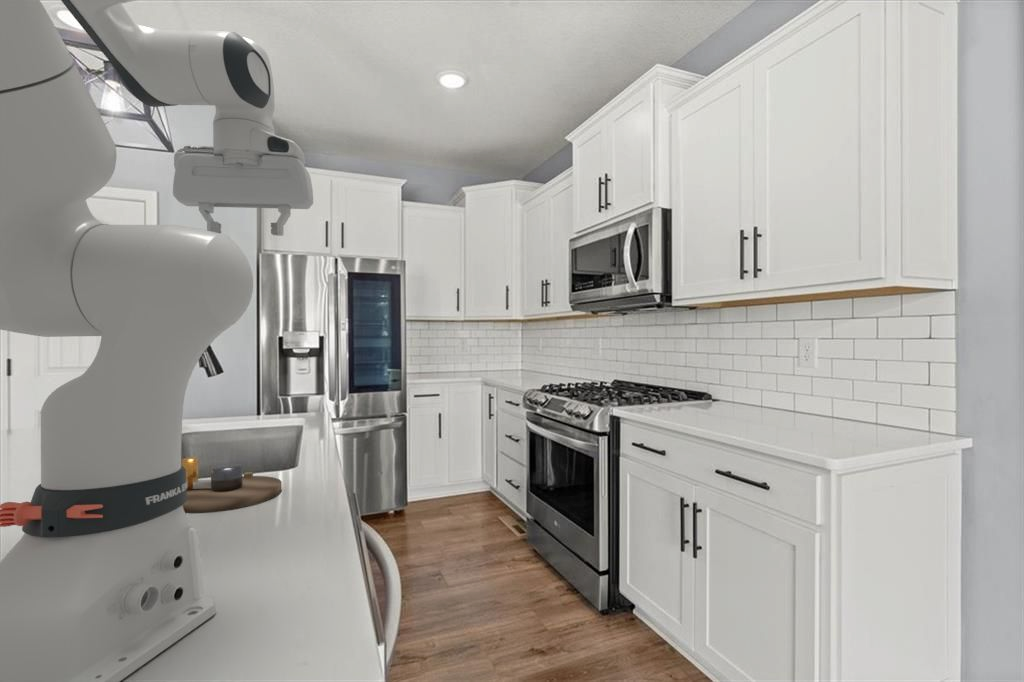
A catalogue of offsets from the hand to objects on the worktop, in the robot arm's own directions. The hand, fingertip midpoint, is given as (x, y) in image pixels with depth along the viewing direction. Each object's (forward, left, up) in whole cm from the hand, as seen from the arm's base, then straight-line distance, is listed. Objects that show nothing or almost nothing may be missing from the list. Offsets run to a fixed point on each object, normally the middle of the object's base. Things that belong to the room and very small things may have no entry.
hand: (246, 234), depth 83 cm
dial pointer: (+12, +12, -43) cm, 46 cm away
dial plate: (+12, +9, -45) cm, 47 cm away
